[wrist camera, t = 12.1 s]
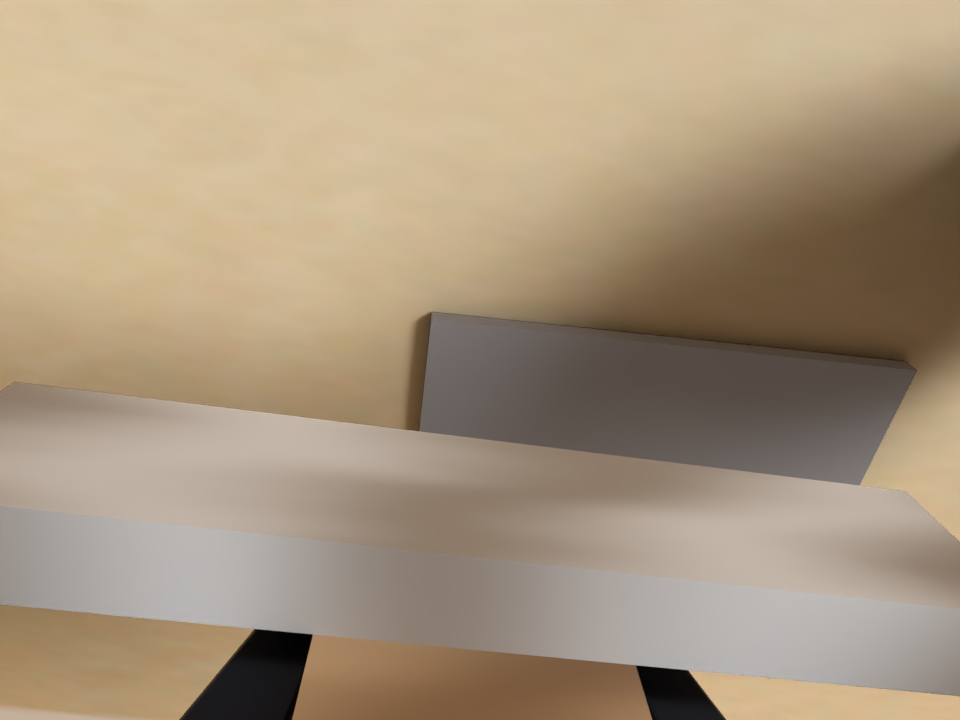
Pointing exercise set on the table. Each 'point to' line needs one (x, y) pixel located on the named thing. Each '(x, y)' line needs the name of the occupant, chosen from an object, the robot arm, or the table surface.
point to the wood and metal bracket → (466, 558)
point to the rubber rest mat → (660, 397)
